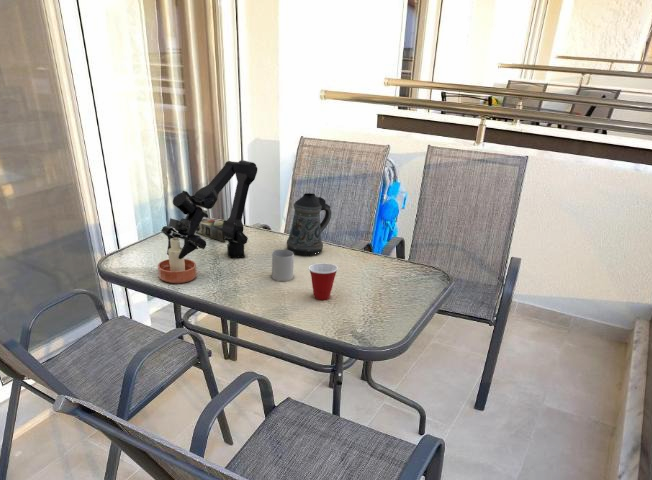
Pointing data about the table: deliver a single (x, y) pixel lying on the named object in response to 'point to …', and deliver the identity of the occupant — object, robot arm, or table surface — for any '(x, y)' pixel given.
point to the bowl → (179, 275)
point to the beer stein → (308, 225)
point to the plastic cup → (322, 279)
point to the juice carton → (211, 229)
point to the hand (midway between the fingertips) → (173, 256)
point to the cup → (282, 265)
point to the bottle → (175, 256)
